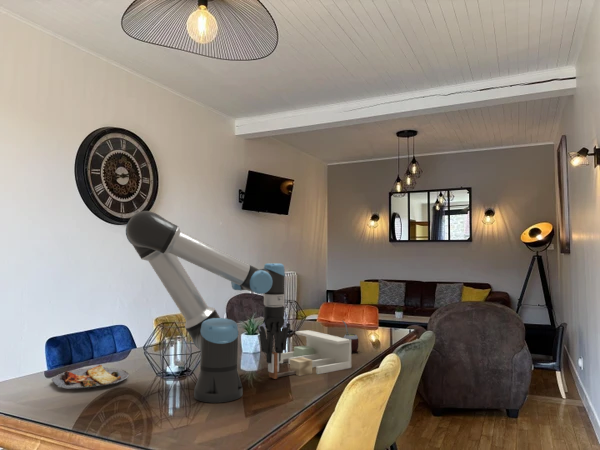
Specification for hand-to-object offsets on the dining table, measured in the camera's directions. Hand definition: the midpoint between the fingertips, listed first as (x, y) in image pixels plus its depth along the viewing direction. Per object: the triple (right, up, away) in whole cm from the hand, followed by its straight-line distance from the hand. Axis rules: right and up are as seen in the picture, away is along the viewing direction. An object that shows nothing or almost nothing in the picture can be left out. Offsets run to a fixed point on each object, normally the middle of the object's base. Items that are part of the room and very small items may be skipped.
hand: (273, 371), depth 167 cm
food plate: (-63, -2, -6) cm, 64 cm away
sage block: (+7, -4, +27) cm, 29 cm away
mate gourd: (+33, -6, +44) cm, 55 cm away
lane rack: (+15, -4, +22) cm, 27 cm away
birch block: (+6, -3, +4) cm, 8 cm away
